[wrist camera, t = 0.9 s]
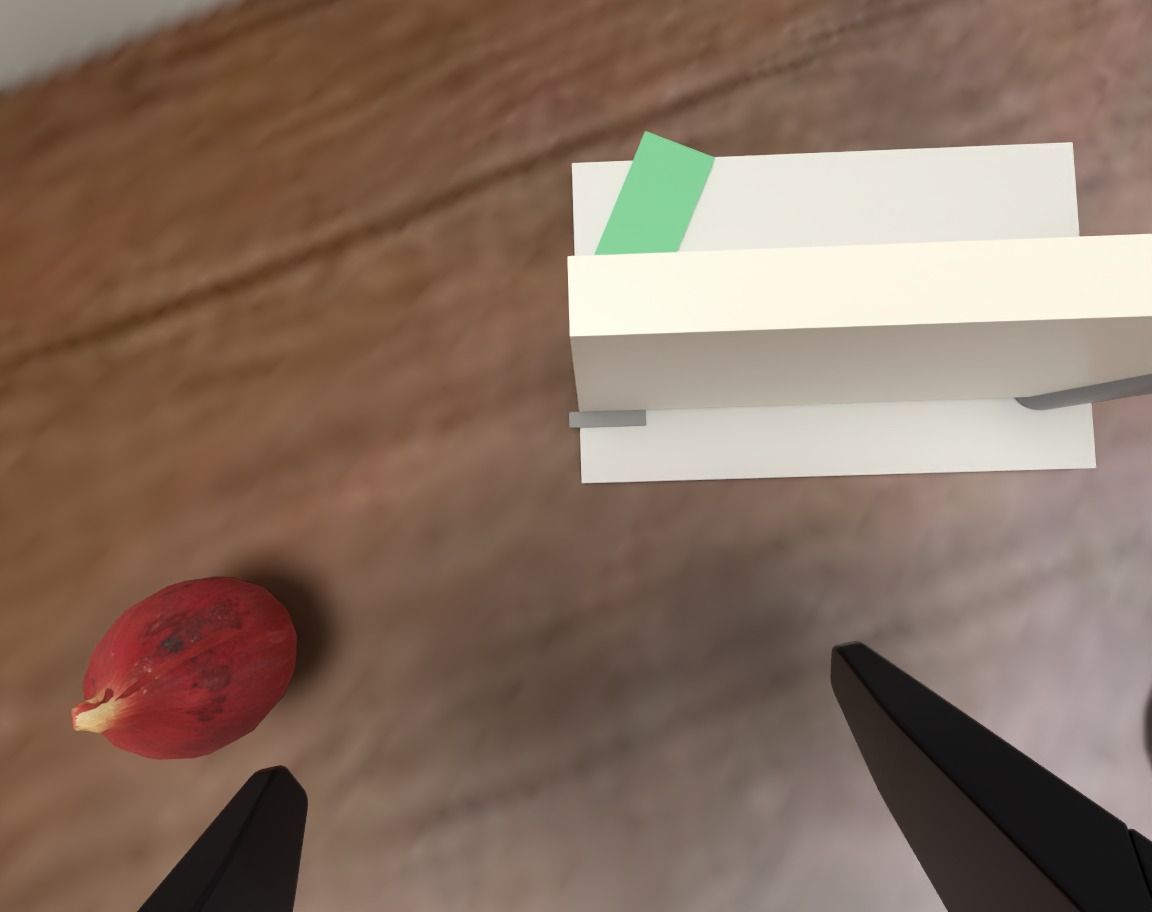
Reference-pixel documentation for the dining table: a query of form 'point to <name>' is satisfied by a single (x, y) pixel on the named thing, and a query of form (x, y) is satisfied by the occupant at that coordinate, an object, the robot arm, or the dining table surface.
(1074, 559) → the dining table surface
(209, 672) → the onion
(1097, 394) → the hinged door panel
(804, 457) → the white base board
